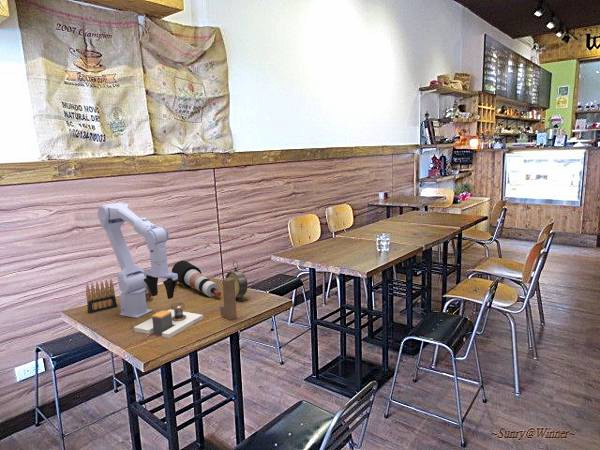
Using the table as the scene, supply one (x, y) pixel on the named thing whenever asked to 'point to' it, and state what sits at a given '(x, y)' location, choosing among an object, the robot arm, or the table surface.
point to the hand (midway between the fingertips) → (162, 296)
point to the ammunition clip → (100, 297)
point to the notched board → (177, 325)
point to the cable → (195, 279)
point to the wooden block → (228, 299)
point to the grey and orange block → (162, 321)
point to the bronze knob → (178, 312)
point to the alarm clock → (238, 282)
